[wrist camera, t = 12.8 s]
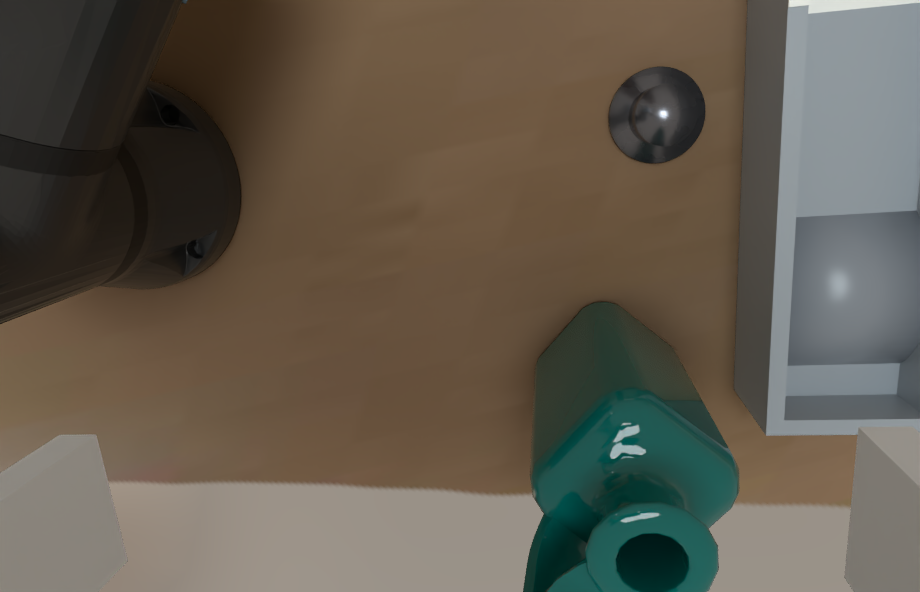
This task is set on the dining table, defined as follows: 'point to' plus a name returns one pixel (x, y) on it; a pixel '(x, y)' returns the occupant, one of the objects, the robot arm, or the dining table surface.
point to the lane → (830, 217)
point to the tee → (657, 114)
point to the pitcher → (623, 464)
